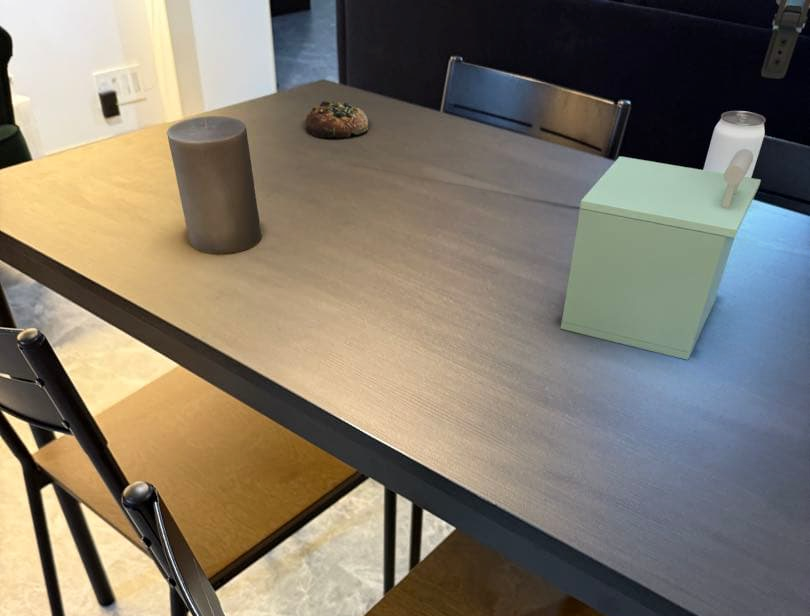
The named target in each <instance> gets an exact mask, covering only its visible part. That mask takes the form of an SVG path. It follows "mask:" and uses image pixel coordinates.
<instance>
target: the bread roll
mask: <svg viewBox="0 0 810 616" xmlns="http://www.w3.org/2000/svg"><path fill="white" fill-rule="evenodd" d="M305 126H306V128H307V130H308V131H309V132H310V134H312V135H313V136H314V137H315V138H326V139H327V138H329V139H330V138H331V139H333V138H346V137H351V135H352V134H353V135H360V134H364V133H365V132H367V131H368V130H369V127H368V126H369V120H368V117H367V115H366V114H365V112H364V111H363V110H361V109H360V108H359V107H357V106H355V107H353V106H352V105H350V104H348V102H344V103H343V102H338V101H336V100H335V101H329V100H324V101H322V102H321V103H320V104H319V106H313V107H312V109H311V110H310V112H308V113H307V114H306V119H305Z"/></svg>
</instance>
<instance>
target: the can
mask: <svg viewBox="0 0 810 616" xmlns="http://www.w3.org/2000/svg"><path fill="white" fill-rule="evenodd" d="M765 123H766V117H764V116H763V115H761V114H759V113H756V112H751V111H745V110H730V111H726V112H723V113H721V115H720V119H719V121H718V122H717V123H716V125H715V127H714V129H713V132H712V136H711V140H710V143H709V148H708V149H707V150H708V151H707V154H706V158H705V162H704V165H703V169H702V170H705V171H711V172H717V173H723V174H724V173H725V171H726V169H727V168H728V166H729V164H730V163H731V161H732V159H733V157H734V156H735V154H736V153H737V152H738V151H739V150H741V149H748V150H750V151H751V152H752V154H753V161H752V163H751V165H750V167H749V169H748V171H747V172H746V174H745V176H744V177H747V178H753V177H752V176H753V174H754V170H755V167H756V163H757V160H758V157H759V155H760V151H761V148H762V144H763V141H764V137H765V132H766V131H765Z"/></svg>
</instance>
